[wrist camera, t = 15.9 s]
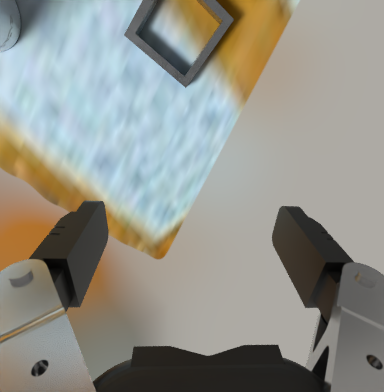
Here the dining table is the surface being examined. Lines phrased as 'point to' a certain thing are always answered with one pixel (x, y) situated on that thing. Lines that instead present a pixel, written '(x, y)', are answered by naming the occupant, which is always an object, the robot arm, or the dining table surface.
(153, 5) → the can socket
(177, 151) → the dining table surface
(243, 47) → the dining table surface
